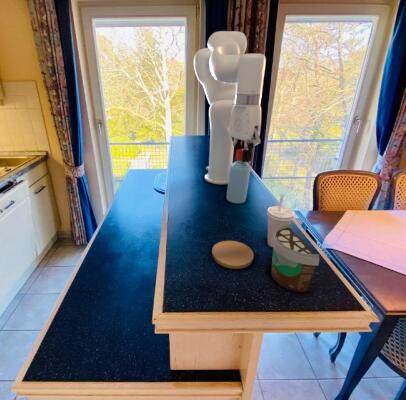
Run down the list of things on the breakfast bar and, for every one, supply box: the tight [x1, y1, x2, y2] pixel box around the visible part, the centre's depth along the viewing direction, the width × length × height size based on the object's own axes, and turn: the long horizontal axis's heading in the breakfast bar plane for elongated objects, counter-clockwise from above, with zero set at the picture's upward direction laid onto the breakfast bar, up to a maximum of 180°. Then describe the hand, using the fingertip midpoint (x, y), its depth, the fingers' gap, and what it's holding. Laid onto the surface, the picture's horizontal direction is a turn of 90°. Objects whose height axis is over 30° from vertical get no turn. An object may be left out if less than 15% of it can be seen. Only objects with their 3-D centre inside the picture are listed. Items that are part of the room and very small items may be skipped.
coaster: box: [211, 240, 255, 270], centre depth 65 cm, size 10×10×1 cm
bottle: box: [226, 160, 252, 204], centre depth 90 cm, size 7×7×17 cm
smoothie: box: [266, 194, 295, 248], centre depth 66 cm, size 6×6×14 cm
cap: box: [235, 148, 245, 161], centre depth 87 cm, size 4×4×3 cm
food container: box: [270, 224, 320, 293], centre depth 56 cm, size 12×6×10 cm, turn 4°
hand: (241, 159), depth 87 cm, fingers closed on cap, 3 cm apart
